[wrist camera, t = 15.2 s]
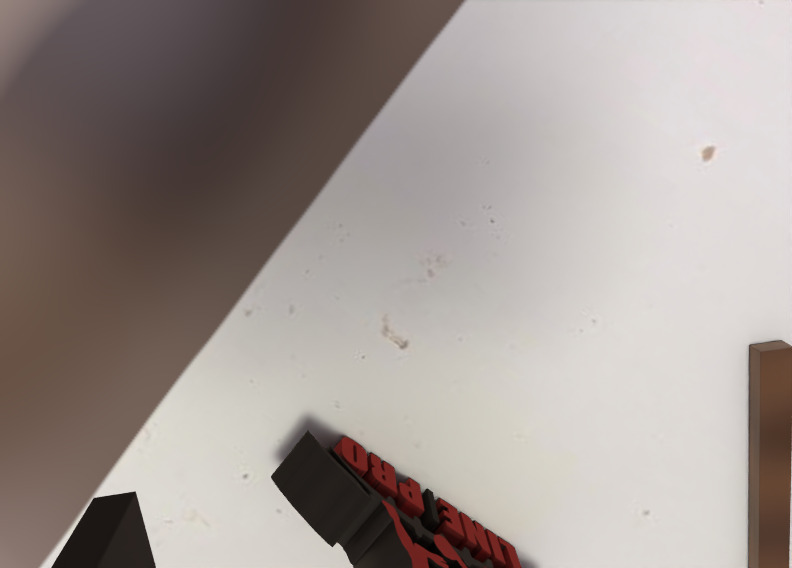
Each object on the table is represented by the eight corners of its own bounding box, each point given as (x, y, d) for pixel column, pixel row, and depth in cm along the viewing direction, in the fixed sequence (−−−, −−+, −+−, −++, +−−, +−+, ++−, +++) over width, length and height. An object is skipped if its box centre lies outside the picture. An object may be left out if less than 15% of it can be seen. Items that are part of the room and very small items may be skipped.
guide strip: (749, 344, 42) (760, 352, 41) (782, 340, 42) (794, 347, 41) (748, 670, 49) (757, 684, 48) (776, 666, 49) (786, 680, 48)
